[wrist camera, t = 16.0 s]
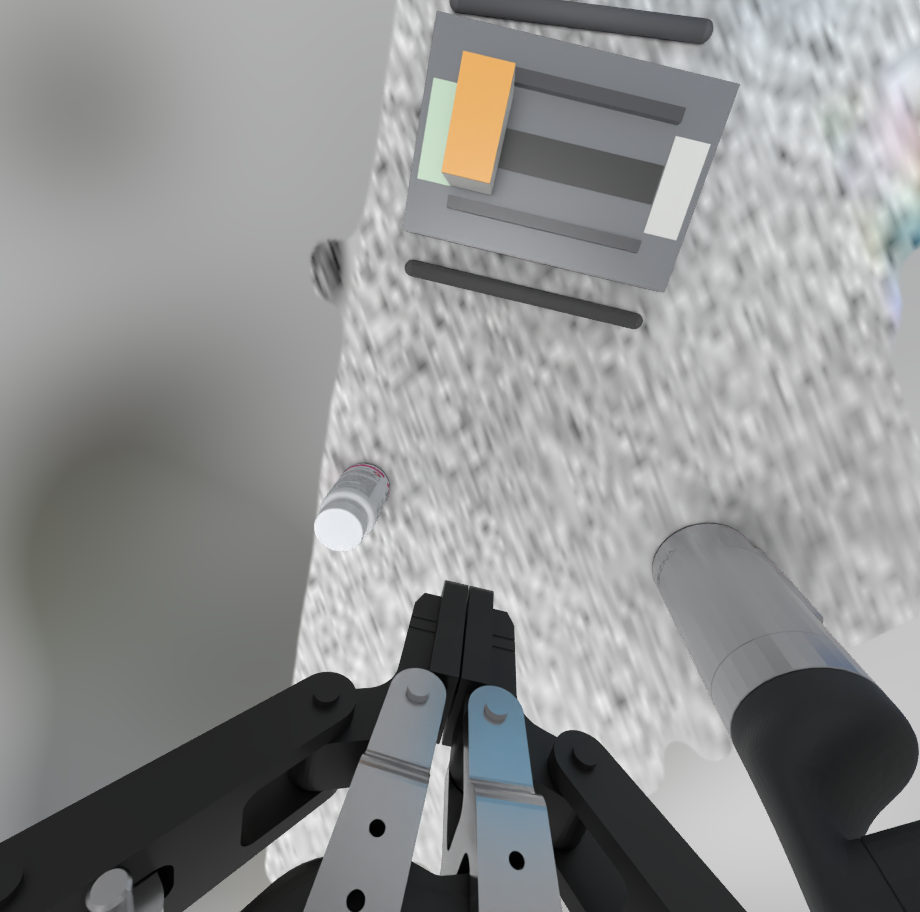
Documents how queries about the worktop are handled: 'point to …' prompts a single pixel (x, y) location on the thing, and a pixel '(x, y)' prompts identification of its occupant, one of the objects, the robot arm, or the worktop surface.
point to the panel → (572, 155)
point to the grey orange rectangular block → (478, 122)
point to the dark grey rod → (523, 294)
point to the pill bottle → (352, 507)
